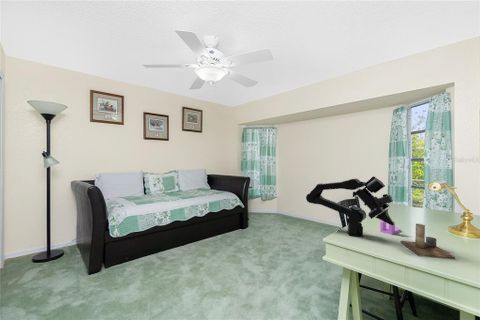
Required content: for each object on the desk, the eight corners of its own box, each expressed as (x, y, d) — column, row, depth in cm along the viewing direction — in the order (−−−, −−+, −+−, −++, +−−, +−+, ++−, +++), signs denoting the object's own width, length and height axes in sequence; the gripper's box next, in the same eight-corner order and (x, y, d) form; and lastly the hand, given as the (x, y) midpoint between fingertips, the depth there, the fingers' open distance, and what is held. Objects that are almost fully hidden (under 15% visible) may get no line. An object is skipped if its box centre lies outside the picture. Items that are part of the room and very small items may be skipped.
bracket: (391, 235, 116) (391, 222, 116) (380, 232, 121) (380, 219, 121) (401, 230, 123) (402, 218, 123) (390, 228, 128) (390, 216, 128)
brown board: (418, 255, 91) (418, 253, 91) (400, 242, 105) (400, 240, 105) (455, 259, 88) (455, 256, 88) (432, 245, 102) (432, 243, 102)
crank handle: (429, 243, 101) (429, 222, 101) (438, 246, 98) (438, 224, 98) (413, 245, 98) (413, 223, 98) (421, 249, 95) (422, 226, 95)
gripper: (376, 190, 101) (405, 219, 93) (385, 187, 114) (411, 212, 107) (357, 204, 106) (383, 232, 99) (367, 200, 120) (391, 224, 112)
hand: (393, 224), depth 104 cm, fingers closed
